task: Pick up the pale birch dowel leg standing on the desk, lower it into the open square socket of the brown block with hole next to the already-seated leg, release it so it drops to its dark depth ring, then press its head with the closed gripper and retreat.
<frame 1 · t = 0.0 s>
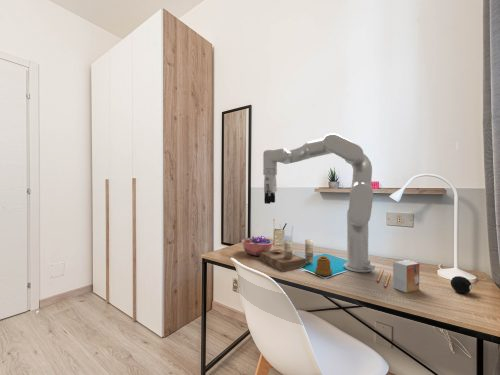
hand: (269, 202, 135), 31 cm above the table, tool pointing down, fingers open, 9 cm apart
birch leg: (309, 262, 128), on the table
billiard ball: (460, 293, 92), on the table
ornamental finial: (323, 274, 112), on the table
small box: (406, 289, 96), on the table
cell model: (257, 254, 144), on the table
brown block with hole: (281, 263, 128), on the table
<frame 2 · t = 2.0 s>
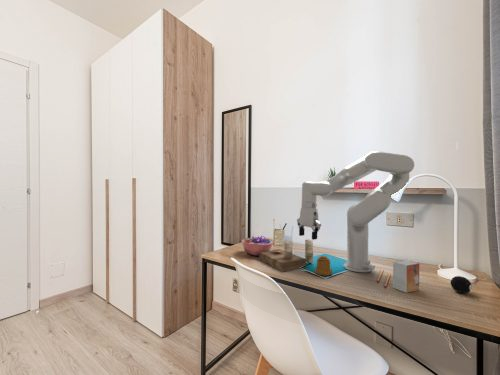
hand: (307, 237, 128), 14 cm above the table, tool pointing down, fingers open, 9 cm apart
nothing on the table moved.
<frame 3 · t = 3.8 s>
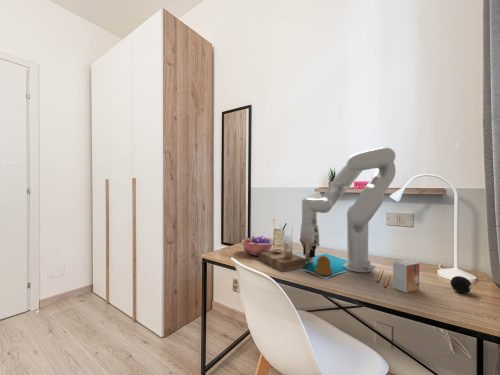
hand: (309, 255, 128), 4 cm above the table, tool pointing down, fingers closed on birch leg, 4 cm apart
birch leg: (309, 262, 128), on the table, touching gripper
everything else where it was.
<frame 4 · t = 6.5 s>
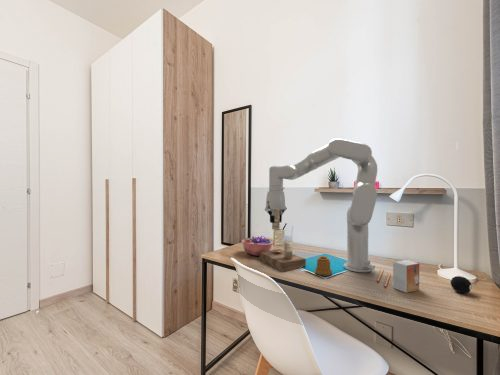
hand: (275, 222, 132), 21 cm above the table, tool pointing down, fingers closed on birch leg, 4 cm apart
birch leg: (275, 228, 132), point 17 cm above the table, touching gripper
everything else where it was.
when the fingers open (5 cm above the table, at t = 9.4 s): birch leg drops 1 cm, resting in brown block with hole.
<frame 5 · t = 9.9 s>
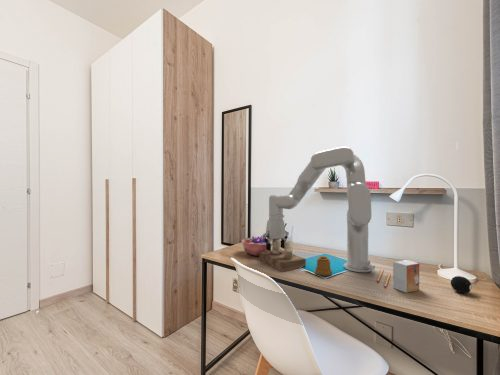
hand: (275, 249, 132), 6 cm above the table, tool pointing down, fingers open, 9 cm apart
birch leg: (275, 260, 132), resting in brown block with hole
everything else where it was.
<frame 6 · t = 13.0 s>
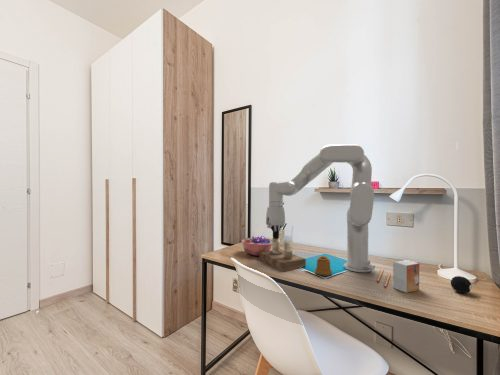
hand: (275, 238, 132), 12 cm above the table, tool pointing down, fingers closed
nothing on the table moved.
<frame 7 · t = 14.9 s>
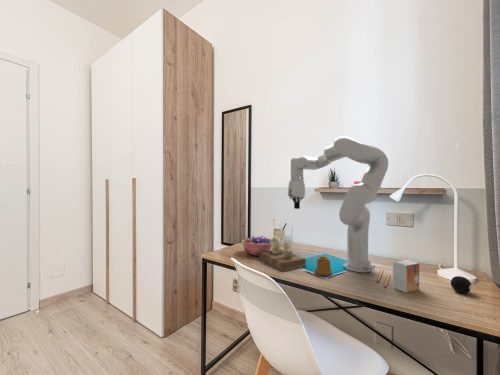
hand: (296, 208, 147), 27 cm above the table, tool pointing down, fingers closed
nothing on the table moved.
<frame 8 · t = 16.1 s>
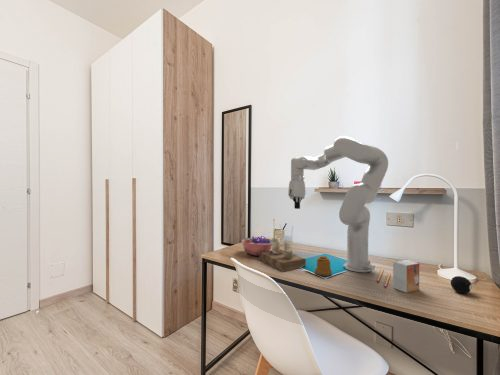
hand: (297, 208, 147), 27 cm above the table, tool pointing down, fingers closed
nothing on the table moved.
at the end: birch leg 0.1 cm from the target spot on the brown block with hole, point 0.0 cm above the brown block with hole's base; birch leg tilted 0°; the gripper is holding nothing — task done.
